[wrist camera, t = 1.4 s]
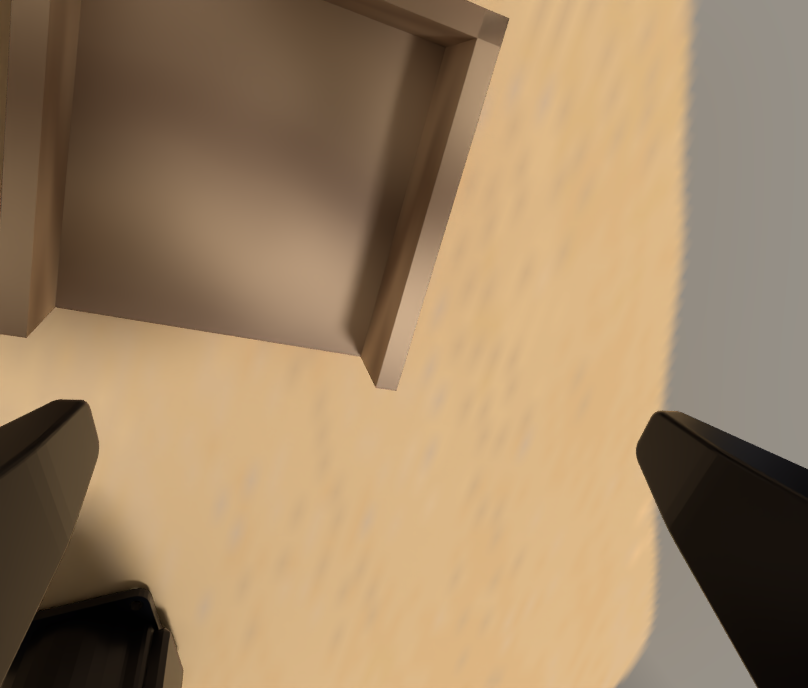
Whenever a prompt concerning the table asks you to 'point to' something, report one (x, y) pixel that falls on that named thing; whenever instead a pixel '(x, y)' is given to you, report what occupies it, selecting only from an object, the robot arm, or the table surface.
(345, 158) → the holder
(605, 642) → the table surface
